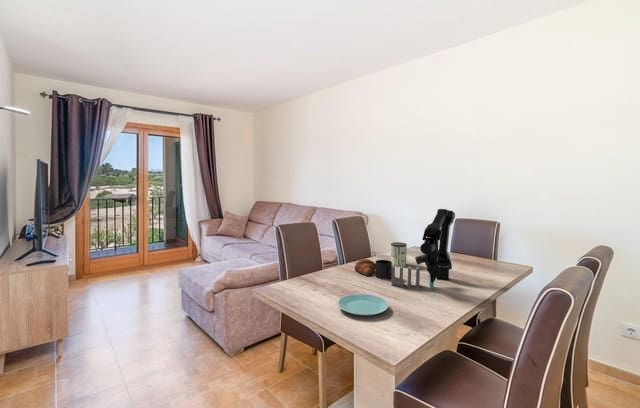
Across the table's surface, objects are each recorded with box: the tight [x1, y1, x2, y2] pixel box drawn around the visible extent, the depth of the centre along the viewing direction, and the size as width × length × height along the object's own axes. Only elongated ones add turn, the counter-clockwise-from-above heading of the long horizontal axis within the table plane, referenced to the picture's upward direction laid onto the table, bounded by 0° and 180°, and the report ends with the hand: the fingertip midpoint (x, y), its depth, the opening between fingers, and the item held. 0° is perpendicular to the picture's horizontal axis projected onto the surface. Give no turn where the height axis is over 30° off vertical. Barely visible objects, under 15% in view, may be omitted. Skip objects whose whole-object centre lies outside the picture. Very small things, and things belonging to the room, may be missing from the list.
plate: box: [337, 293, 390, 317], centre depth 135 cm, size 22×22×3 cm
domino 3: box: [407, 265, 412, 288], centre depth 164 cm, size 2×5×10 cm, turn 165°
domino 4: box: [415, 266, 421, 289], centre depth 163 cm, size 2×5×10 cm, turn 165°
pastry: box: [354, 258, 376, 277], centre depth 191 cm, size 17×15×8 cm
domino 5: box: [428, 276, 435, 290], centre depth 161 cm, size 2×5×10 cm, turn 166°
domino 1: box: [391, 265, 396, 287], centre depth 166 cm, size 2×5×10 cm, turn 165°
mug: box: [374, 259, 392, 280], centre depth 178 cm, size 9×12×9 cm
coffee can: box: [390, 241, 408, 267], centre depth 206 cm, size 10×10×14 cm
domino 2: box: [399, 266, 404, 288], centre depth 165 cm, size 2×5×10 cm, turn 165°
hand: (431, 280), depth 161 cm, fingers open, 8 cm apart
